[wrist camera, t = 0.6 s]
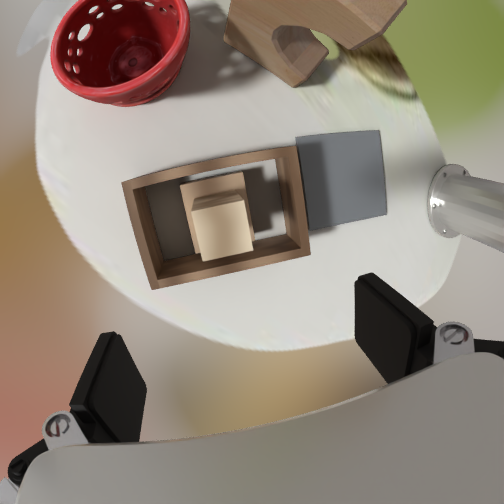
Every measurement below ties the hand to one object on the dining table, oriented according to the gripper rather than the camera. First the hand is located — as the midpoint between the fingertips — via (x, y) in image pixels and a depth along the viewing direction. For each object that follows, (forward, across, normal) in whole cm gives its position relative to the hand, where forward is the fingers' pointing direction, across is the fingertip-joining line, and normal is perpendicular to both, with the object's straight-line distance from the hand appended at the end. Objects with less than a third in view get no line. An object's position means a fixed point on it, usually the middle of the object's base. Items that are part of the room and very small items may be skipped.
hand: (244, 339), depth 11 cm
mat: (+26, -17, -1) cm, 31 cm away
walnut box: (+26, 0, 0) cm, 26 cm away
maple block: (+23, 0, 0) cm, 23 cm away
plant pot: (+26, +6, -20) cm, 34 cm away
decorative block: (+26, -10, -19) cm, 34 cm away
